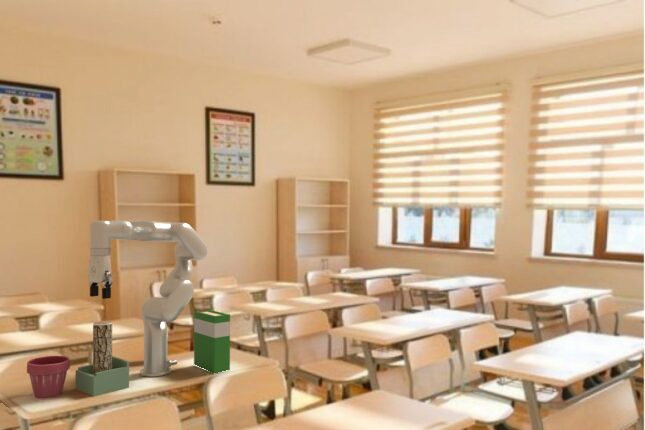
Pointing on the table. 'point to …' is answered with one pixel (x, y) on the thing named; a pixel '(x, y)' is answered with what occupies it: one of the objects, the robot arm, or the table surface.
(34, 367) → the plant pot
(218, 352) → the green cereal box
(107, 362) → the wooden log
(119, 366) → the open box
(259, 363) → the table surface
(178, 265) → the robot arm
